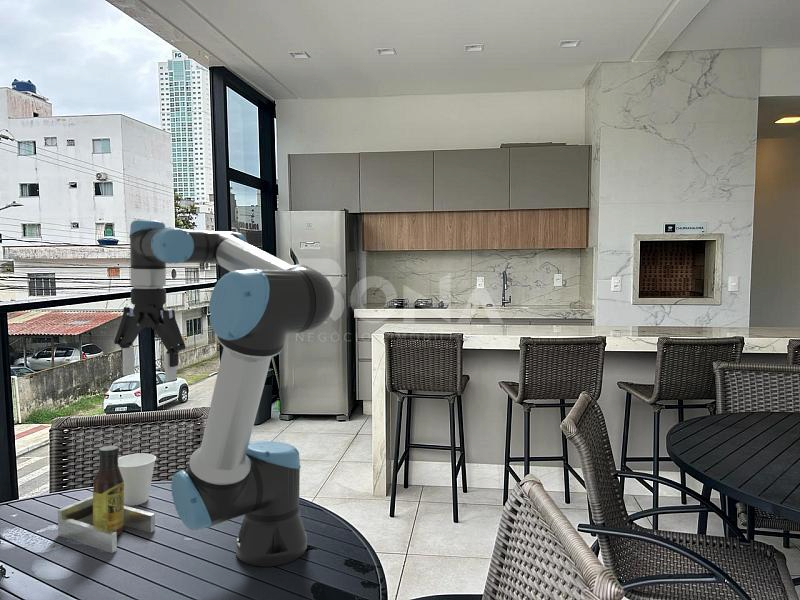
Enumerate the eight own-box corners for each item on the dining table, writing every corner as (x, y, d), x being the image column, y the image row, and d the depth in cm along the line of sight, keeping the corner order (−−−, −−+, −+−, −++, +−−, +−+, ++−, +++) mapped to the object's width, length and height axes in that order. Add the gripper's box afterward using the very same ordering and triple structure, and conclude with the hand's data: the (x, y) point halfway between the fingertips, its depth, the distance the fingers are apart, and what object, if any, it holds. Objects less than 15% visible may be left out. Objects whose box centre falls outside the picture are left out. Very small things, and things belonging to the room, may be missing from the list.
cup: (150, 490, 154) (149, 450, 153) (161, 503, 146) (161, 461, 145) (109, 499, 147) (109, 458, 147) (119, 513, 140) (119, 469, 139)
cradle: (155, 530, 131) (154, 505, 131) (112, 553, 121) (111, 526, 121) (103, 515, 138) (102, 491, 138) (58, 535, 128) (57, 509, 128)
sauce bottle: (111, 542, 126) (110, 454, 124) (86, 539, 127) (84, 452, 125) (130, 528, 132) (129, 444, 131) (106, 525, 133) (104, 442, 132)
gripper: (201, 288, 131) (201, 380, 132) (124, 284, 141) (125, 369, 142) (176, 290, 124) (176, 386, 125) (97, 285, 134) (98, 374, 136)
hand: (149, 377), depth 134 cm, fingers open, 13 cm apart
